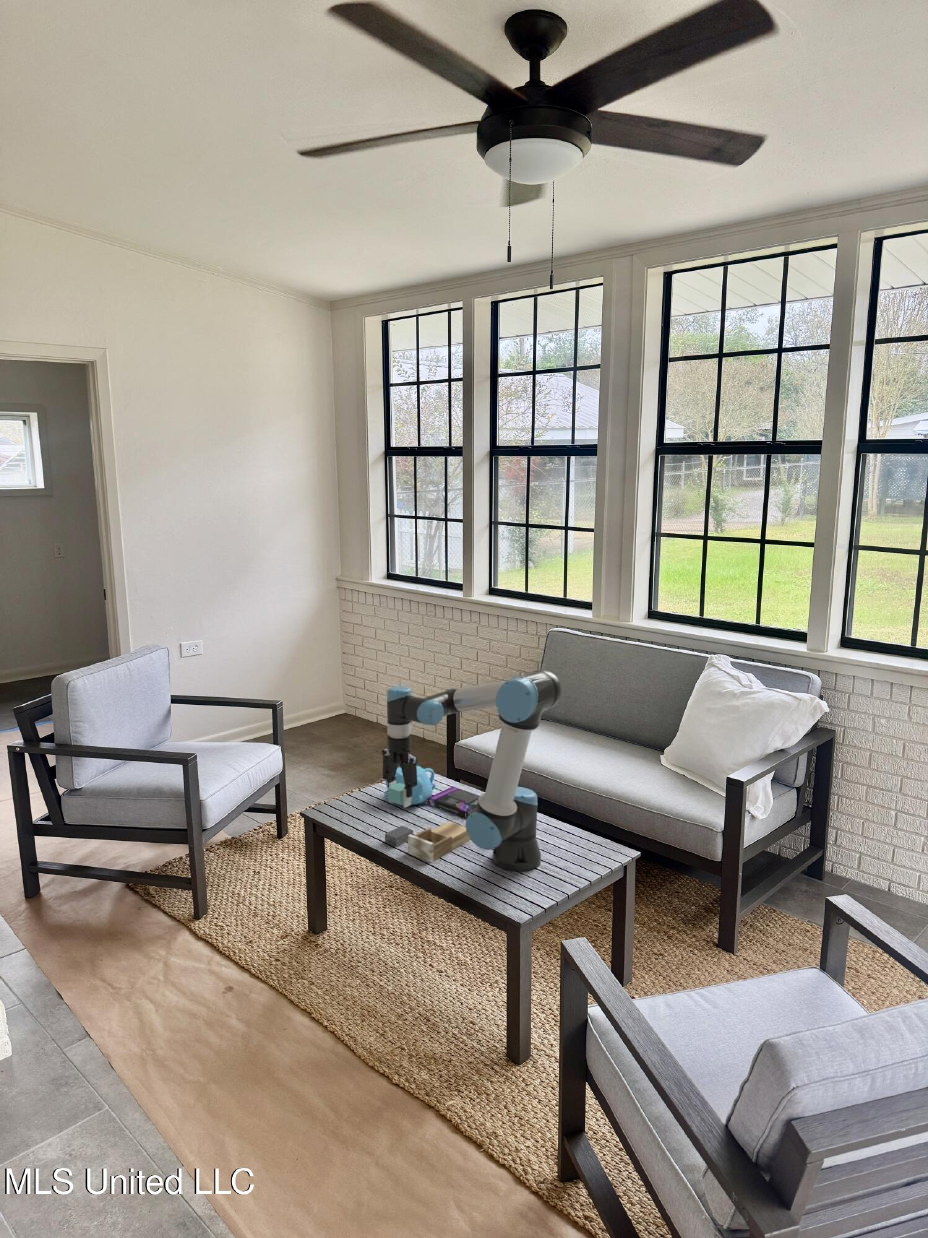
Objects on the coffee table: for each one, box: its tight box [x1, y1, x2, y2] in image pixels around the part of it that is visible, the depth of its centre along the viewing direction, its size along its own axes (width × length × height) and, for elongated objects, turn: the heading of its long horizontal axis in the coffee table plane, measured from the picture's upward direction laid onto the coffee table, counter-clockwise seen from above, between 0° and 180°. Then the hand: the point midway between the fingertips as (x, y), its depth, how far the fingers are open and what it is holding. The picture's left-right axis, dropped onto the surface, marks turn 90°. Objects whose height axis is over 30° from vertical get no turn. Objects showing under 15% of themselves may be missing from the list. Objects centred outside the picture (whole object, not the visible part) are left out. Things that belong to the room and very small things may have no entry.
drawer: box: [407, 820, 471, 863], centre depth 260 cm, size 10×20×6 cm, turn 142°
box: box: [427, 786, 480, 819], centre depth 293 cm, size 14×4×20 cm
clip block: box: [387, 783, 412, 806], centre depth 261 cm, size 6×6×4 cm
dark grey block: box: [384, 825, 414, 848], centre depth 264 cm, size 5×8×3 cm, turn 142°
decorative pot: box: [383, 765, 436, 807], centre depth 296 cm, size 16×16×14 cm
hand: (400, 803), depth 262 cm, fingers closed on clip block, 5 cm apart
